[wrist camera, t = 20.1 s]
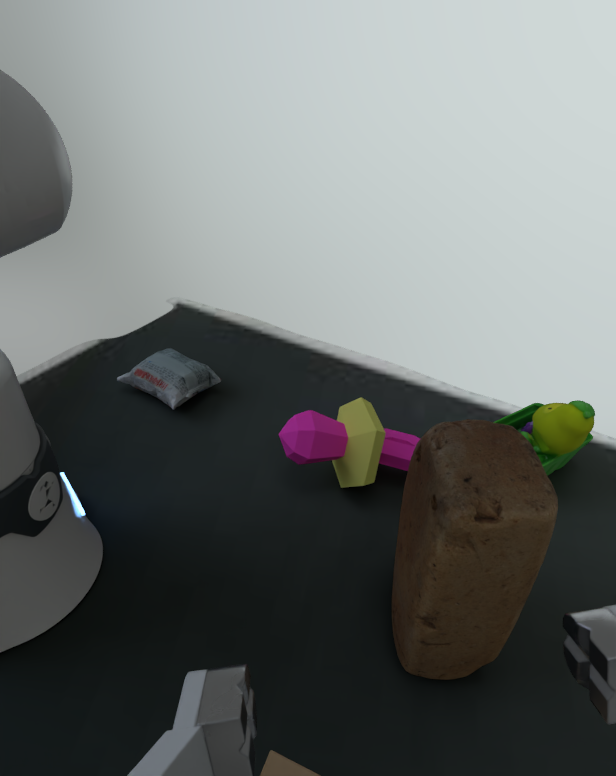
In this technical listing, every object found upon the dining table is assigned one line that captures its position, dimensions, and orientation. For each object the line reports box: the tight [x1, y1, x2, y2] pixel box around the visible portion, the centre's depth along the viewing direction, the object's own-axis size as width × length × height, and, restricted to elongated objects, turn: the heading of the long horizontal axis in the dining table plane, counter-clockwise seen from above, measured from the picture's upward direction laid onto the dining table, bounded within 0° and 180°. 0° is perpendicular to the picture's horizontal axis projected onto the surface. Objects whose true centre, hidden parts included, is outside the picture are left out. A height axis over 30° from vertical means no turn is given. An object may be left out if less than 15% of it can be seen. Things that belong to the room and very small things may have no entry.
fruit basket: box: [493, 401, 595, 476], centre depth 53 cm, size 11×9×11 cm
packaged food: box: [117, 348, 221, 410], centre depth 66 cm, size 9×12×5 cm
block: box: [392, 419, 558, 680], centre depth 36 cm, size 11×8×20 cm
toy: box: [279, 398, 420, 488], centre depth 53 cm, size 10×18×10 cm, turn 101°
